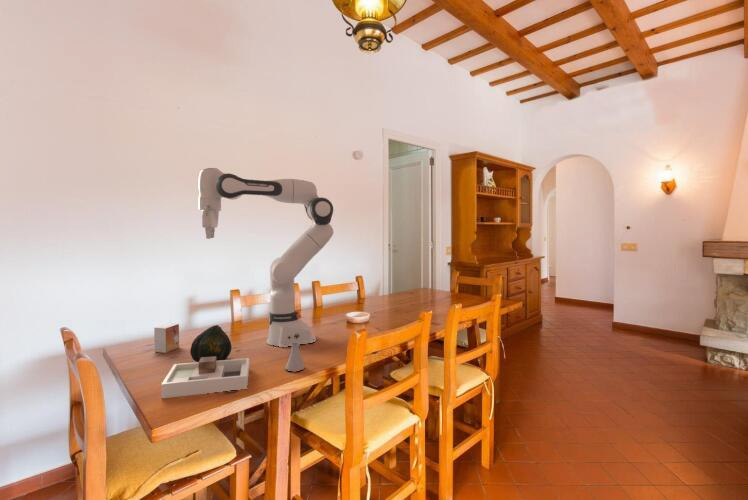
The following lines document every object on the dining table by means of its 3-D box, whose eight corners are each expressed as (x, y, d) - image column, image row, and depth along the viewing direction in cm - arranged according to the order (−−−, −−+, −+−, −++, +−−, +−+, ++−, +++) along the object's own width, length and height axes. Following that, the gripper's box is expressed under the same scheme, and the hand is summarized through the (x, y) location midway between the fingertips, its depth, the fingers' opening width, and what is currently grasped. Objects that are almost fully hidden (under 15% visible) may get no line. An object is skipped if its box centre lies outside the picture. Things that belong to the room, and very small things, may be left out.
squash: (181, 358, 131) (211, 324, 135) (184, 347, 145) (211, 317, 148) (213, 379, 135) (241, 346, 139) (213, 367, 149) (239, 337, 153)
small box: (165, 353, 151) (165, 328, 150) (154, 352, 152) (153, 327, 151) (179, 347, 159) (179, 323, 158) (168, 346, 160) (168, 322, 159)
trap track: (249, 369, 135) (249, 358, 135) (247, 389, 119) (247, 376, 119) (174, 376, 128) (174, 364, 128) (161, 398, 112) (161, 384, 111)
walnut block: (216, 367, 129) (216, 356, 129) (214, 372, 125) (214, 361, 124) (201, 368, 128) (201, 357, 128) (198, 374, 123) (198, 362, 123)
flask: (295, 374, 132) (295, 347, 131) (281, 370, 135) (281, 344, 135) (308, 368, 138) (309, 342, 137) (294, 364, 142) (295, 339, 141)
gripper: (214, 205, 147) (215, 239, 148) (220, 207, 167) (220, 237, 168) (197, 204, 146) (198, 239, 146) (205, 207, 165) (205, 237, 166)
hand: (210, 238), depth 157 cm, fingers open, 8 cm apart
